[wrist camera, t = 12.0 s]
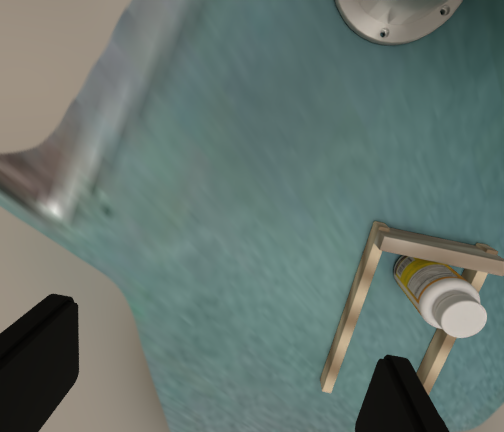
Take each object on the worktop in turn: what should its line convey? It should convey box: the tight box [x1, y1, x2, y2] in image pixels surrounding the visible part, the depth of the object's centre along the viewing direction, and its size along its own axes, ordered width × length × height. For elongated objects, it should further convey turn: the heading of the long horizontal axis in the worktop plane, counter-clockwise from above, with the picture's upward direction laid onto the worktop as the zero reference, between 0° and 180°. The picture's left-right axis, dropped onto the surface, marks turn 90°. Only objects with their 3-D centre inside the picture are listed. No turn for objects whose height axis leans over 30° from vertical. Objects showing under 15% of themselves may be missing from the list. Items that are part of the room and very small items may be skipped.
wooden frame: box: [320, 221, 504, 395], centre depth 38 cm, size 24×13×4 cm, turn 169°
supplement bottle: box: [394, 255, 487, 338], centre depth 33 cm, size 6×6×10 cm
